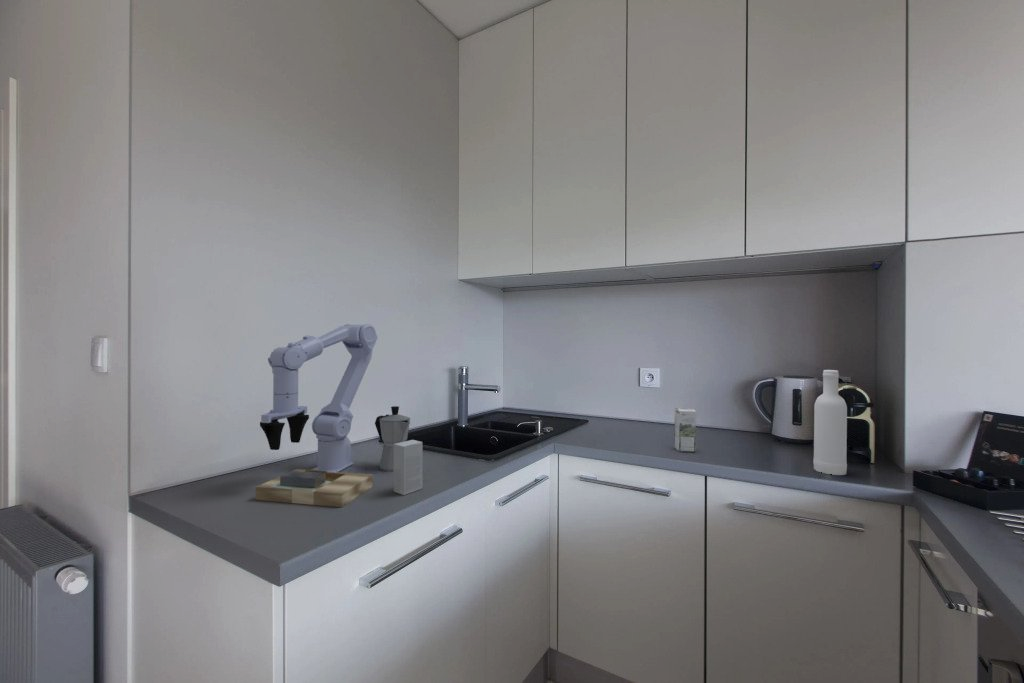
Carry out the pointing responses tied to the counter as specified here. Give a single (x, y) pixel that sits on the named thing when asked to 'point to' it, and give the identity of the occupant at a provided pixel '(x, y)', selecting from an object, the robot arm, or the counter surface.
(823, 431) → the bottle
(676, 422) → the syrup box
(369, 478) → the bamboo board
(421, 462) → the skincare box
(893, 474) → the counter surface
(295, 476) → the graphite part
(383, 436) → the coffee maker
